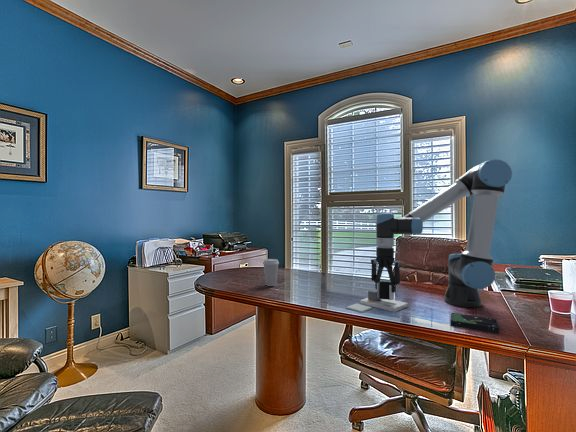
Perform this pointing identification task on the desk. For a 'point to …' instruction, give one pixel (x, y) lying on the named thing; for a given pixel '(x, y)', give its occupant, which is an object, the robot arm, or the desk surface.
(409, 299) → the desk surface
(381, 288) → the ink cartridge
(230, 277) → the desk surface
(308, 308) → the desk surface
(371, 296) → the switch tab
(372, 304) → the switch panel
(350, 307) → the mat
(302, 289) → the desk surface
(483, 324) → the disk drive
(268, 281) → the coffee cup
